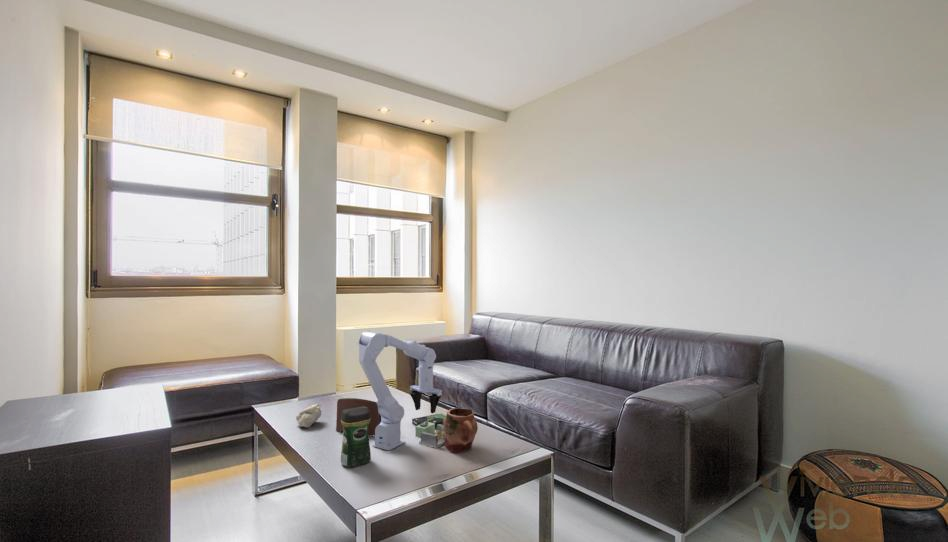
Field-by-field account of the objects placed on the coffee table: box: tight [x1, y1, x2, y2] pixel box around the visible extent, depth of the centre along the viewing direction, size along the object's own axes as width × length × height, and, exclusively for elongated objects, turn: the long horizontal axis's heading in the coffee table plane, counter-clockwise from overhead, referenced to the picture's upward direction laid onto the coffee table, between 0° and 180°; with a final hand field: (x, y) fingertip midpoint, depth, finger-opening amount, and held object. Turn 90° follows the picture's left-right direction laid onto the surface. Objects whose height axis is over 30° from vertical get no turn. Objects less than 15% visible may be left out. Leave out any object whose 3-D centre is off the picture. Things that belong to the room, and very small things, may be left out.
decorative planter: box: [443, 407, 479, 454], centre depth 162 cm, size 20×12×14 cm, turn 31°
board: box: [414, 421, 436, 438], centre depth 177 cm, size 7×4×5 cm, turn 150°
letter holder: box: [335, 397, 381, 437], centre depth 182 cm, size 10×20×14 cm, turn 73°
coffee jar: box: [340, 406, 372, 468], centre depth 150 cm, size 10×8×19 cm
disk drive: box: [411, 413, 446, 429], centre depth 190 cm, size 10×3×15 cm
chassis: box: [418, 424, 446, 449], centre depth 170 cm, size 12×8×4 cm, turn 149°
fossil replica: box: [295, 403, 322, 429], centre depth 187 cm, size 12×8×10 cm
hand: (425, 411), depth 177 cm, fingers open, 7 cm apart
